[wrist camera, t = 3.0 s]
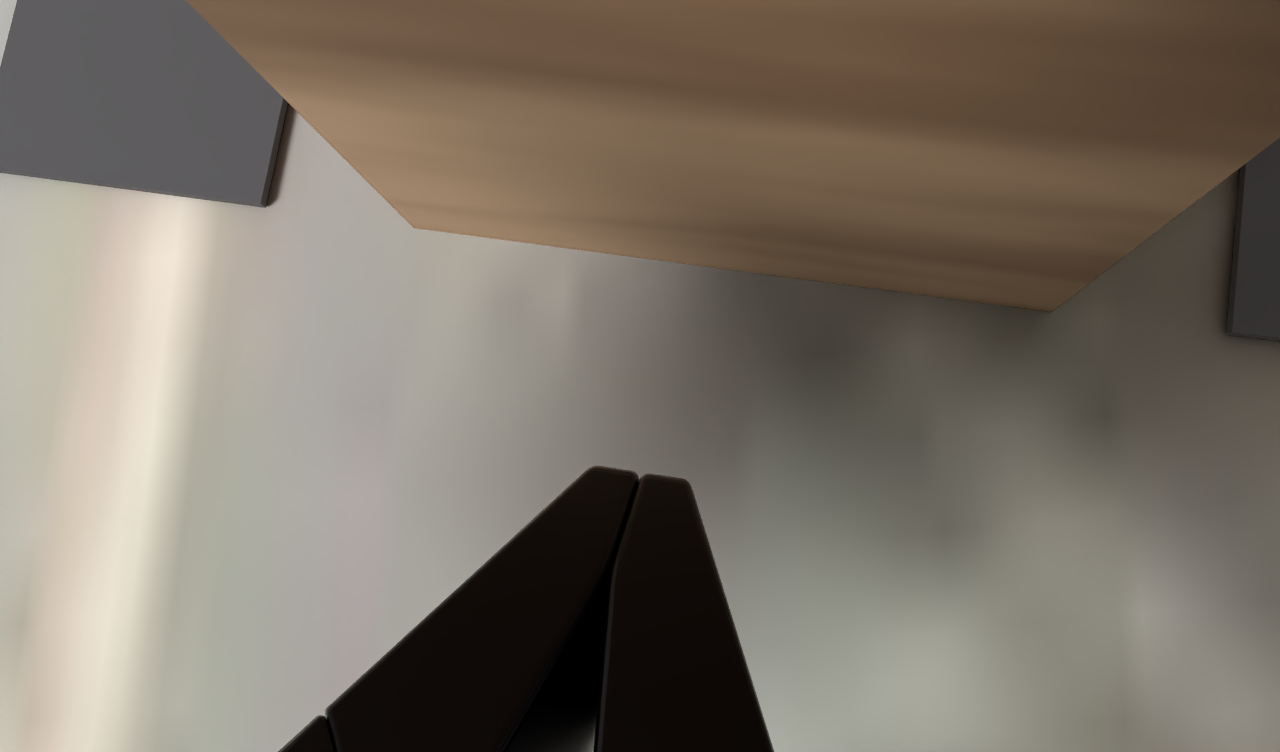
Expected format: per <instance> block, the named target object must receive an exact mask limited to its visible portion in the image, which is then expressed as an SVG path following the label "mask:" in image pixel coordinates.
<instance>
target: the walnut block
mask: <svg viewBox="0 0 1280 752" xmlns="http://www.w3.org/2000/svg"><path fill="white" fill-rule="evenodd" d="M186 1H187V2H188V3H189V4H190V5H191V6H192V7H193V8H194V9H195V10H196V11H197V12H198V13H199V14H200V15H201V16H202V17H203V18H204V19H205V20H206V21H207V22H208V23H209V24H210V25H211V26H212V27H213V28H214V29H215V30H216V31H217V32H218V33H219V34H220V35H221V36H222V37H223V38H224V39H225V40H226V41H227V42H228V43H229V44H230V45H231V46H232V47H233V48H234V49H235V50H236V51H237V52H238V53H239V54H240V55H241V56H242V57H243V58H244V59H245V60H246V61H247V62H248V63H249V64H250V65H251V66H252V67H253V68H254V69H255V70H256V71H257V72H258V73H259V74H260V75H261V76H262V77H263V78H264V79H265V80H266V81H267V82H268V83H269V84H270V85H271V86H272V87H273V88H274V89H275V90H276V91H277V92H278V93H279V94H280V95H281V96H282V97H283V98H284V99H285V100H286V101H287V102H288V103H289V104H290V105H291V106H292V107H293V108H294V109H295V110H296V111H297V112H298V113H299V114H300V115H301V116H302V117H303V118H304V119H305V120H306V121H307V122H308V123H309V124H310V125H311V126H312V127H313V128H314V129H315V130H316V131H317V132H318V133H319V134H320V135H321V136H322V137H323V138H324V139H325V140H326V141H327V142H328V143H329V144H330V145H331V146H332V147H333V148H334V149H335V150H336V151H337V152H338V153H339V154H340V155H341V156H342V157H343V158H344V159H345V160H346V161H347V162H348V163H349V164H350V165H351V166H352V167H353V168H354V169H355V170H356V171H357V172H358V173H359V174H360V175H361V176H362V177H363V178H364V179H365V180H366V181H367V182H368V183H369V184H370V185H371V186H372V187H373V188H374V189H375V190H376V191H377V192H378V193H379V194H380V195H381V196H382V197H383V198H384V199H385V200H386V201H387V202H388V203H389V204H390V205H391V206H392V207H393V208H394V209H395V210H396V211H397V212H398V213H399V214H400V215H401V216H402V217H403V218H404V219H405V220H406V221H407V222H408V223H409V224H410V225H411V226H412V227H413V228H418V229H425V230H433V231H440V232H448V233H456V234H463V235H471V236H478V237H486V238H494V239H501V240H509V241H516V242H524V243H531V244H539V245H547V246H554V247H562V248H569V249H577V250H585V251H592V252H600V253H607V254H615V255H623V256H630V257H638V258H645V259H653V260H661V261H668V262H676V263H683V264H691V265H699V266H706V267H714V268H721V269H729V270H736V271H744V272H752V273H759V274H767V275H774V276H782V277H790V278H797V279H805V280H812V281H820V282H828V283H835V284H843V285H850V286H858V287H866V288H873V289H881V290H888V291H896V292H904V293H911V294H919V295H926V296H934V297H941V298H949V299H957V300H964V301H972V302H979V303H987V304H995V305H1002V306H1010V307H1017V308H1025V309H1033V310H1040V311H1048V312H1052V311H1054V310H1055V309H1056V308H1058V307H1059V306H1060V305H1061V304H1063V303H1064V302H1065V301H1067V300H1068V299H1069V298H1071V297H1072V296H1073V295H1075V294H1076V293H1077V292H1078V291H1080V290H1081V289H1082V288H1084V287H1085V286H1086V285H1088V284H1089V283H1090V282H1092V281H1093V280H1094V279H1095V278H1097V277H1098V276H1099V275H1101V274H1102V273H1103V272H1105V271H1106V270H1107V269H1109V268H1110V267H1111V266H1112V265H1114V264H1115V263H1116V262H1118V261H1119V260H1120V259H1122V258H1123V257H1124V256H1126V255H1127V254H1128V253H1129V252H1131V251H1132V250H1133V249H1135V248H1136V247H1137V246H1139V245H1140V244H1141V243H1142V242H1144V241H1145V240H1146V239H1148V238H1149V237H1150V236H1152V235H1153V234H1154V233H1156V232H1157V231H1158V230H1159V229H1161V228H1162V227H1163V226H1165V225H1166V224H1167V223H1169V222H1170V221H1171V220H1173V219H1174V218H1175V217H1176V216H1178V215H1179V214H1180V213H1182V212H1183V211H1184V210H1186V209H1187V208H1188V207H1190V206H1191V205H1192V204H1193V203H1195V202H1196V201H1197V200H1199V199H1200V198H1201V197H1203V196H1204V195H1205V194H1207V193H1208V192H1209V191H1210V190H1212V189H1213V188H1214V187H1216V186H1217V185H1218V184H1220V183H1221V182H1222V181H1224V180H1225V179H1226V178H1227V177H1229V176H1230V175H1231V174H1233V173H1234V172H1235V171H1237V170H1238V169H1239V168H1241V167H1242V166H1243V165H1244V164H1246V163H1247V162H1248V161H1250V160H1251V159H1252V158H1254V157H1255V156H1256V155H1258V154H1259V153H1260V152H1261V151H1263V150H1264V149H1265V148H1267V147H1268V146H1269V145H1271V144H1272V143H1273V142H1275V141H1276V140H1277V139H1278V138H1280V0H186Z"/></svg>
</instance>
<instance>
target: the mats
mask: <svg viewBox="0 0 1280 752" xmlns="http://www.w3.org/2000/svg"><path fill="white" fill-rule="evenodd" d="M287 105H288V102H287V101H286V100H285V99H284V98H283V97H282V96H281V95H280V94H279V93H278V92H277V91H276V90H275V89H274V88H273V87H272V86H271V85H270V84H269V83H268V82H267V81H266V80H265V79H264V78H263V77H262V76H261V75H260V74H259V73H258V72H257V71H256V70H255V69H254V68H253V67H252V66H251V65H250V64H249V63H248V62H247V61H246V60H245V59H244V58H243V57H242V56H241V55H240V54H239V53H238V52H237V51H236V50H235V49H234V48H233V47H232V46H231V45H230V44H229V43H228V42H227V41H226V40H225V39H224V38H223V37H222V36H221V35H220V34H219V33H218V32H217V31H216V30H215V29H214V28H213V27H212V26H211V25H210V24H209V23H208V22H207V21H206V20H205V19H204V18H203V17H202V16H201V15H200V14H199V13H198V12H197V11H196V10H195V9H194V8H193V7H192V6H191V5H190V4H189V3H188V2H187V1H186V0H17V4H16V8H15V11H14V15H13V19H12V23H11V27H10V31H9V35H8V39H7V43H6V47H5V51H4V55H3V59H2V63H1V67H0V173H8V174H15V175H23V176H30V177H38V178H45V179H53V180H61V181H68V182H76V183H83V184H91V185H99V186H106V187H114V188H121V189H129V190H136V191H144V192H152V193H159V194H167V195H174V196H182V197H189V198H197V199H205V200H212V201H220V202H227V203H235V204H242V205H250V206H258V207H265V208H266V204H267V199H268V194H269V189H270V185H271V180H272V175H273V171H274V166H275V161H276V157H277V152H278V147H279V143H280V138H281V133H282V129H283V124H284V119H285V115H286V110H287ZM1226 334H1227V335H1235V336H1243V337H1250V338H1258V339H1265V340H1273V341H1280V138H1278V139H1277V140H1276V141H1275V142H1273V143H1272V144H1271V145H1269V146H1268V147H1267V148H1265V149H1264V150H1263V151H1261V152H1260V153H1259V154H1258V155H1256V156H1255V157H1254V158H1252V159H1251V160H1250V161H1248V162H1247V163H1246V164H1244V165H1243V166H1242V167H1241V168H1240V177H1239V189H1238V201H1237V213H1236V225H1235V237H1234V249H1233V261H1232V273H1231V285H1230V296H1229V308H1228V320H1227V332H1226Z"/></svg>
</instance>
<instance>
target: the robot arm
mask: <svg viewBox="0 0 1280 752" xmlns="http://www.w3.org/2000/svg"><path fill="white" fill-rule="evenodd" d="M325 716H326V718H325V717H324V716H321V715H320V716H317V717H316V718H314V719H313V720H312V721H311V722H310V723H309V724H308V725H307V726H306V727H305V728H304V729H303V730H302V731H300V732H299V733H298V734H297V735H296V736H295V737H294V738H293V739H292V740H291V741H290V742H288V743H287V744H286V745H285V746H284V747H283V748H282V749H281V750H279V751H278V752H592V751H593V752H774V750H773V746H772V743H771V740H770V737H769V734H768V730H767V727H766V724H765V721H764V718H763V714H762V711H761V708H760V705H759V702H758V698H757V695H756V692H755V689H754V686H753V682H752V679H751V676H750V673H749V670H748V666H747V663H746V660H745V657H744V654H743V650H742V647H741V644H740V641H739V637H738V634H737V631H736V628H735V625H734V621H733V618H732V615H731V612H730V609H729V605H728V602H727V599H726V596H725V593H724V589H723V586H722V583H721V580H720V577H719V573H718V570H717V567H716V564H715V561H714V557H713V554H712V551H711V548H710V545H709V541H708V538H707V535H706V532H705V529H704V525H703V522H702V519H701V516H700V513H699V509H698V506H697V503H696V500H695V496H694V493H693V490H692V487H691V485H690V484H689V482H688V481H686V480H685V479H681V478H675V477H668V476H662V475H655V474H645V475H643V476H642V477H641V479H640V480H639V477H638V475H637V474H636V473H635V472H633V471H629V470H622V469H616V468H609V467H603V466H594V467H591V468H589V469H588V470H586V471H585V472H584V473H583V474H582V475H581V476H580V477H579V478H578V479H577V480H576V481H574V482H573V483H572V484H571V485H570V486H569V487H568V488H567V489H566V490H565V491H563V492H562V493H561V494H560V495H559V496H558V497H557V498H556V499H555V500H554V501H553V502H551V503H550V504H549V505H548V506H547V507H546V508H545V509H544V510H543V511H542V512H541V513H539V514H538V515H537V516H536V517H535V518H534V519H533V520H532V521H531V522H530V523H529V524H527V525H526V526H525V527H524V528H523V529H522V530H521V531H520V532H519V533H518V534H516V535H515V536H514V537H513V538H512V539H511V540H510V541H509V542H508V543H507V544H506V545H504V546H503V547H502V548H501V549H500V550H499V551H498V552H497V553H496V554H495V555H494V556H492V557H491V558H490V559H489V560H488V561H487V562H486V563H485V564H484V565H483V566H481V567H480V568H479V569H478V570H477V571H476V572H475V573H474V574H473V575H472V576H471V577H469V578H468V579H467V580H466V581H465V582H464V583H463V584H462V585H461V586H460V587H459V588H457V589H456V590H455V591H454V592H453V593H452V594H451V595H450V596H449V597H448V598H447V599H445V600H444V601H443V602H442V603H441V604H440V605H439V606H438V607H437V608H436V609H434V610H433V611H432V612H431V613H430V614H429V615H428V616H427V617H426V618H425V619H424V620H422V621H421V622H420V623H419V624H418V625H417V626H416V627H415V628H414V629H413V630H412V631H410V632H409V633H408V634H407V635H406V636H405V637H404V638H403V639H402V640H401V641H400V642H398V643H397V644H396V645H395V646H394V647H393V648H392V649H391V650H390V651H389V652H387V653H386V654H385V655H384V656H383V657H382V658H381V659H380V660H379V661H378V662H377V663H375V664H374V665H373V666H372V667H371V668H370V669H369V670H368V671H367V672H366V673H365V674H363V675H362V676H361V677H360V678H359V679H358V680H357V681H356V682H355V683H354V684H352V685H351V686H350V687H349V688H348V689H347V690H346V691H345V692H344V693H343V694H342V695H340V696H339V697H338V698H337V699H336V700H335V701H334V702H333V703H332V704H331V705H330V706H328V707H327V708H326V710H325ZM593 748H594V750H593Z"/></svg>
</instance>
